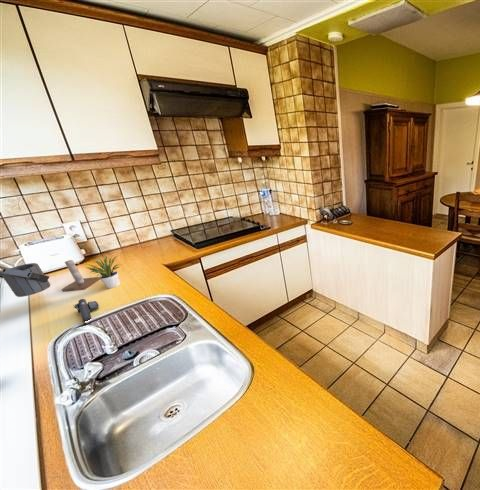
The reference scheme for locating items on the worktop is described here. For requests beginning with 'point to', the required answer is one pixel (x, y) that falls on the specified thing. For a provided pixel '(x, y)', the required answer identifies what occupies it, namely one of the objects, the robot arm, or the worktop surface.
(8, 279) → the grey ribbed cylinder
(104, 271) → the house plant
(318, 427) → the worktop surface
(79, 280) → the tape stand
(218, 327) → the worktop surface
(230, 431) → the worktop surface
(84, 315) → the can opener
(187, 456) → the worktop surface
